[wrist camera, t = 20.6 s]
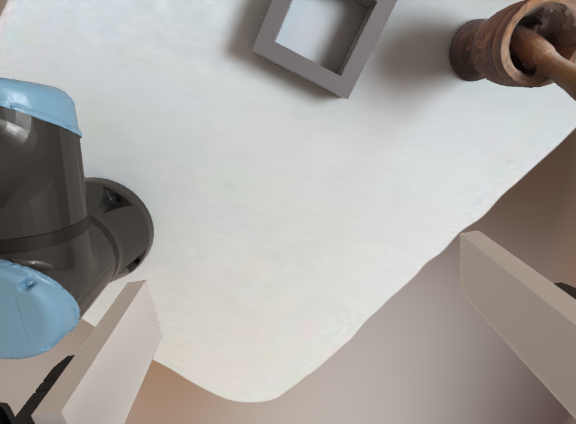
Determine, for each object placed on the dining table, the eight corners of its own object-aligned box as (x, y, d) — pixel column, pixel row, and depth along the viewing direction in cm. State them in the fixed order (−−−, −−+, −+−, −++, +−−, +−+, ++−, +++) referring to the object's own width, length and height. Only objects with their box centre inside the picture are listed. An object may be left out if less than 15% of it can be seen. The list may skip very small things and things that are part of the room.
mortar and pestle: (536, 63, 50) (696, 51, 31) (487, 115, 52) (609, 132, 33) (480, 0, 48) (617, -55, 29) (430, 57, 50) (528, 40, 31)
